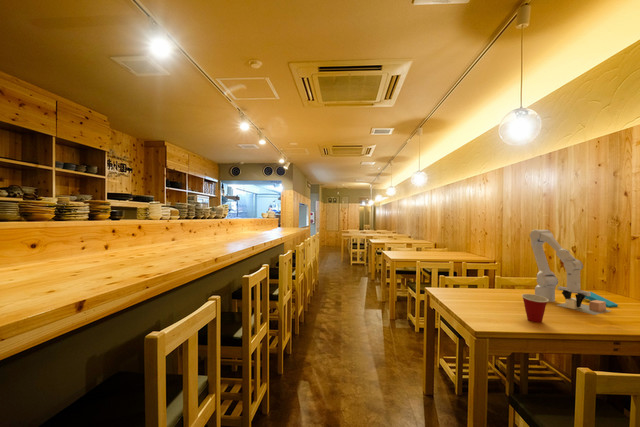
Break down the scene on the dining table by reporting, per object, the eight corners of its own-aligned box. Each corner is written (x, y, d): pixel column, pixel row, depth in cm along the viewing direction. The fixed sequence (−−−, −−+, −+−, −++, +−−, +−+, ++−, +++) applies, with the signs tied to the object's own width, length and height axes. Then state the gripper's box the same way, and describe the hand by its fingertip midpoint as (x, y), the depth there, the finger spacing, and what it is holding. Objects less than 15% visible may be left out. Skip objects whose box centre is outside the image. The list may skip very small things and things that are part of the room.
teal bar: (614, 315, 165) (581, 298, 182) (618, 304, 163) (584, 288, 180) (604, 316, 164) (572, 299, 181) (608, 305, 162) (575, 289, 179)
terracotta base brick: (589, 309, 158) (589, 301, 158) (596, 308, 161) (596, 299, 161) (598, 311, 155) (598, 303, 155) (605, 310, 157) (605, 301, 157)
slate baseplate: (555, 306, 166) (555, 304, 166) (572, 303, 173) (572, 301, 173) (594, 316, 150) (594, 314, 150) (612, 312, 156) (612, 310, 156)
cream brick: (565, 307, 162) (565, 299, 162) (573, 305, 164) (573, 297, 164) (574, 309, 158) (574, 301, 158) (581, 307, 161) (581, 299, 161)
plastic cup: (534, 325, 137) (534, 300, 137) (516, 317, 147) (516, 294, 147) (554, 324, 138) (554, 299, 138) (535, 316, 149) (535, 293, 149)
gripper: (554, 279, 167) (554, 302, 167) (585, 285, 153) (585, 310, 153) (561, 278, 169) (562, 301, 169) (592, 283, 156) (592, 309, 156)
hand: (573, 305), depth 161 cm, fingers closed on cream brick, 4 cm apart
